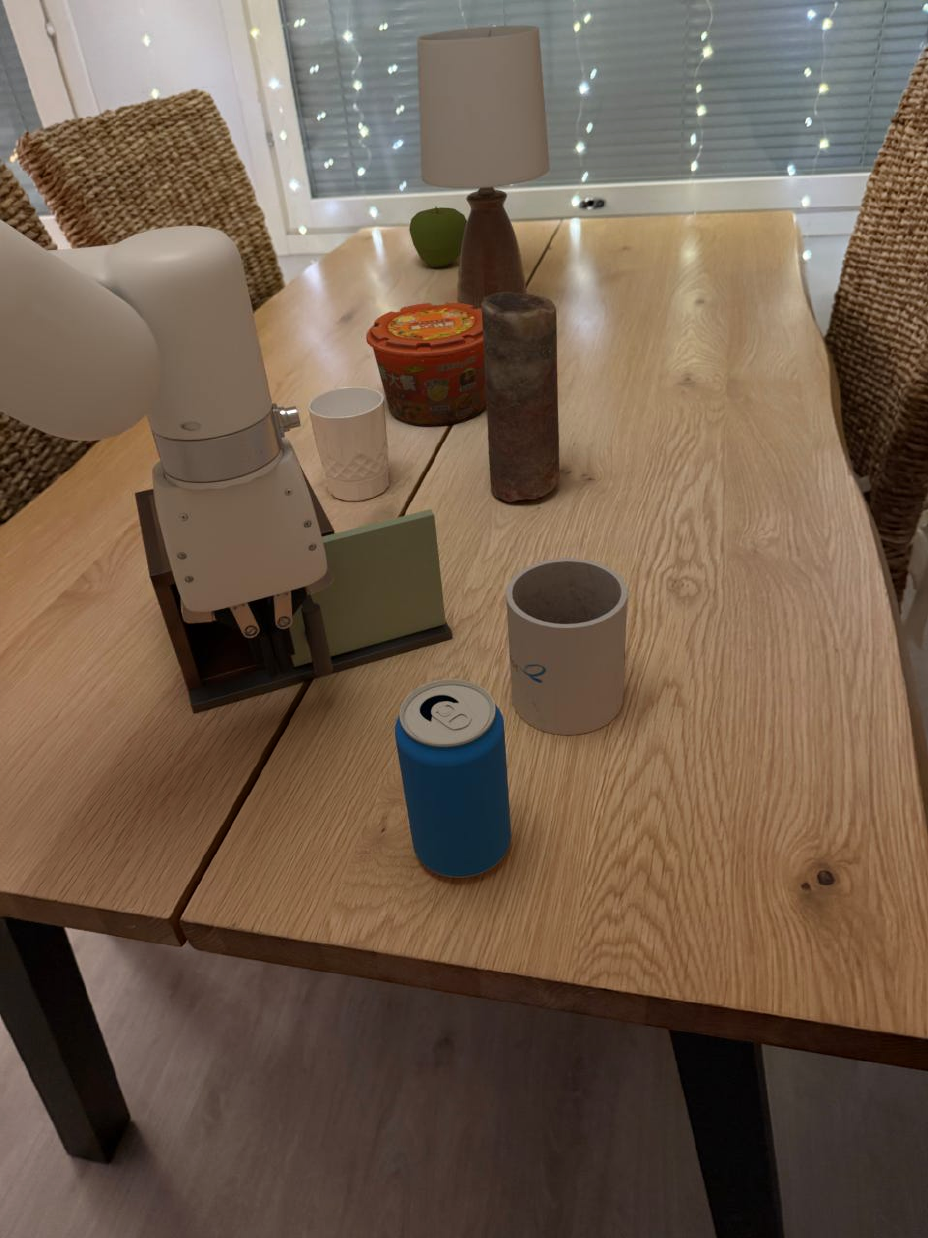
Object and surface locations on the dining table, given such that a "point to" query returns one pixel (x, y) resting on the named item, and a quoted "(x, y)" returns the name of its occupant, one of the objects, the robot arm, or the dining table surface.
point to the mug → (567, 644)
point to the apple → (438, 235)
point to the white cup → (351, 441)
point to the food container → (431, 362)
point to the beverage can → (454, 776)
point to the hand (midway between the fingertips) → (276, 664)
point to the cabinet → (223, 653)
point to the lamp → (483, 140)
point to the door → (371, 590)
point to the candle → (521, 394)
